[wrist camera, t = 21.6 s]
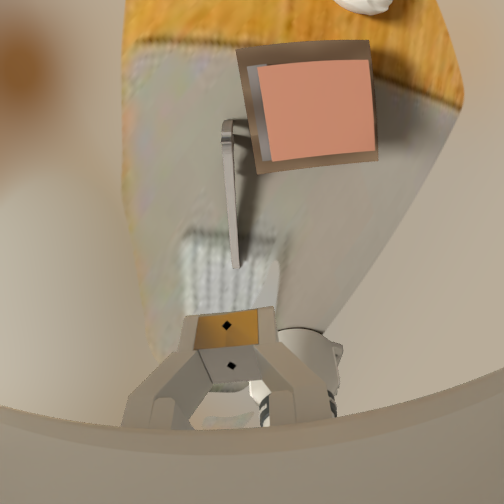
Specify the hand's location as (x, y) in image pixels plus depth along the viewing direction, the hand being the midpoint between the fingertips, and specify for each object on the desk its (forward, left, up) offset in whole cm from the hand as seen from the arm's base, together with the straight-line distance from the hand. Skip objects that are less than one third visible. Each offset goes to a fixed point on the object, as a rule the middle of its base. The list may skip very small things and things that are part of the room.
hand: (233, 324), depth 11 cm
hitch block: (+4, -7, -29) cm, 30 cm away
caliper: (-8, +3, -30) cm, 31 cm away
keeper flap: (+4, -7, -19) cm, 21 cm away
